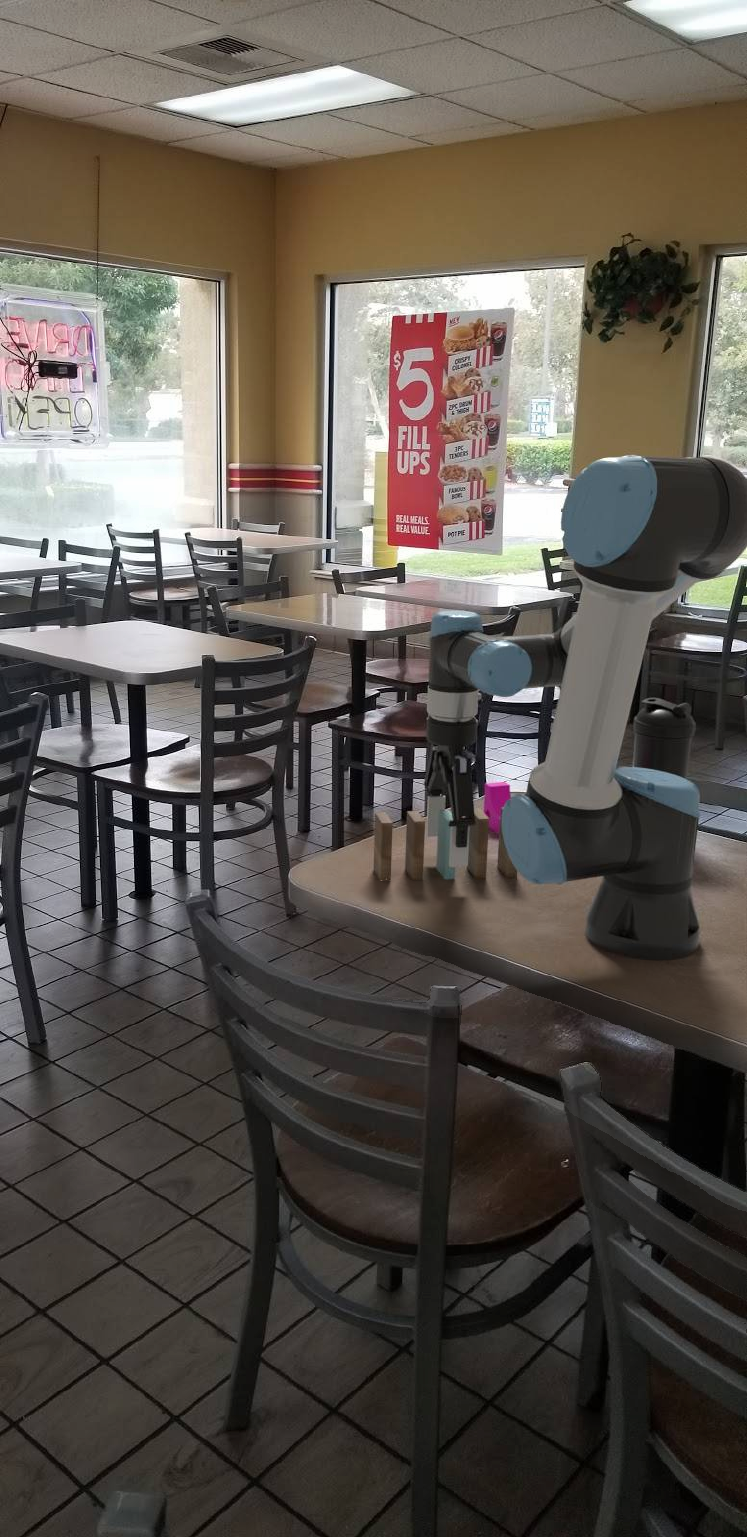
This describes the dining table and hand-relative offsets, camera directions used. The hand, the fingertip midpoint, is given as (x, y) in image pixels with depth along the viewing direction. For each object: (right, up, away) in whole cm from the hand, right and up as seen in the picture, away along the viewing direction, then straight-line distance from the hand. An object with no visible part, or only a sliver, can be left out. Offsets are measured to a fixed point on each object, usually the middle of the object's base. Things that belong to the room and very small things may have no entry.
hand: (446, 850), depth 185 cm
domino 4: (+5, -4, +2) cm, 7 cm away
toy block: (+14, +1, +21) cm, 25 cm away
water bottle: (+38, +2, +25) cm, 45 cm away
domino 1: (-10, -4, -1) cm, 11 cm away
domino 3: (0, -4, +1) cm, 4 cm away
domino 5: (+10, -4, +3) cm, 11 cm away
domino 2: (-5, -4, 0) cm, 7 cm away
